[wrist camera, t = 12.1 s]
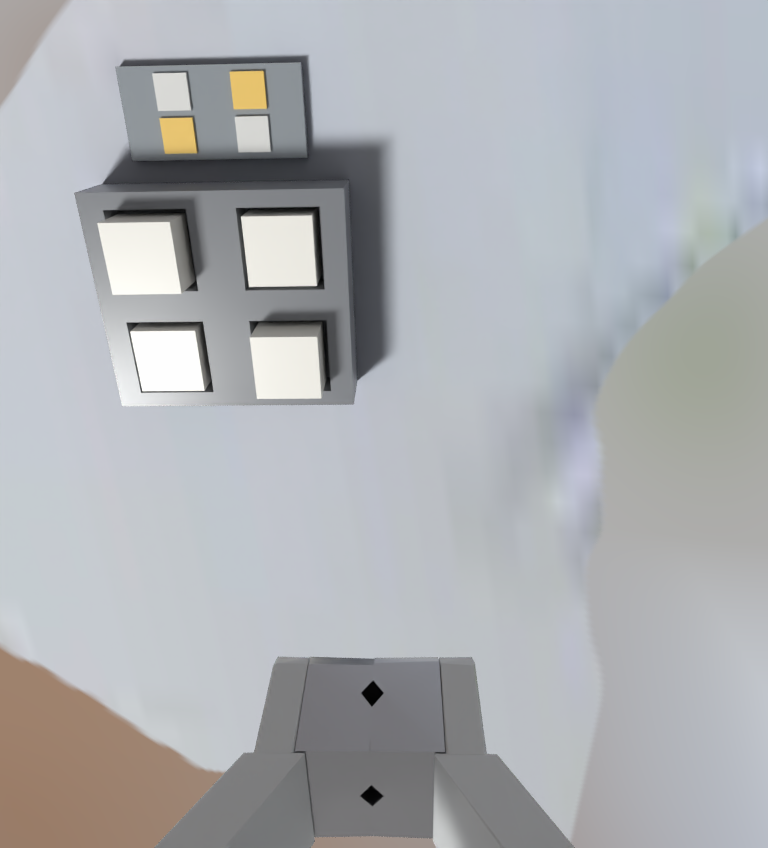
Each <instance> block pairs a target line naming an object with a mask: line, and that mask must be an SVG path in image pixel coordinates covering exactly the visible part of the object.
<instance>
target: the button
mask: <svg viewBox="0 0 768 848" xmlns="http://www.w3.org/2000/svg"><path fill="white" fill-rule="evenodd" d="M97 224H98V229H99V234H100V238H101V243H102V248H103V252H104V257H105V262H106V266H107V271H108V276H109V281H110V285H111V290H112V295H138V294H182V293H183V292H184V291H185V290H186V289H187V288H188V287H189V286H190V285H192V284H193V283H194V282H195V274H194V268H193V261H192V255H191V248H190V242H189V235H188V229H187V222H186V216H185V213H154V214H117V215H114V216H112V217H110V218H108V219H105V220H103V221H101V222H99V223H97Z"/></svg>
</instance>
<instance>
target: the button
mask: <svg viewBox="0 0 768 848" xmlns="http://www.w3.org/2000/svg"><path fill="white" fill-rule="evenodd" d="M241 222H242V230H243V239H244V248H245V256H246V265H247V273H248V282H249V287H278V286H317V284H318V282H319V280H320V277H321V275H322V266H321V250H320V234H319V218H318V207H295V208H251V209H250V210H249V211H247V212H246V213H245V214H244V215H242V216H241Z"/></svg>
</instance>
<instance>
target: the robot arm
mask: <svg viewBox="0 0 768 848" xmlns="http://www.w3.org/2000/svg"><path fill="white" fill-rule="evenodd" d="M347 836H348V837H349V836H386V837H410V838H433V843H434V844H435V846H436V848H574V846H573V845H572V844H571V843H570V841H569V840H568V839H567V838H566V837H565V835H564V834H563V833H562V832H561V831H560V829H559V828H558V827H557V826H556V825H555V823H554V822H553V821H552V820H551V819H550V817H549V816H548V815H547V814H546V813H545V811H544V810H543V809H542V808H541V807H540V805H539V804H538V803H537V802H536V801H535V799H534V798H533V797H532V796H531V795H530V793H529V792H528V791H527V790H526V789H525V787H524V786H523V785H522V784H521V783H520V781H519V780H518V779H517V778H516V777H515V775H514V774H513V773H512V772H511V771H510V769H509V768H508V767H507V766H506V765H505V763H504V762H503V761H502V760H501V759H500V757H499V756H498V755H497V754H487V753H486V745H485V738H484V730H483V722H482V715H481V707H480V699H479V692H478V684H477V676H476V669H475V662H474V661H473V659H472V657H458V658H439V659H438V657H420V658H375V659H365V658H330V657H278V658H277V659H276V661H275V663H274V665H273V669H272V674H271V678H270V683H269V687H268V692H267V696H266V701H265V705H264V710H263V714H262V719H261V723H260V728H259V732H258V737H257V741H256V746H255V750H254V752H253V753H243V754H242V755H241V756H240V757H239V758H238V760H237V761H236V762H235V763H234V764H233V765H232V766H231V767H230V768H229V769H228V770H227V771H226V772H225V773H224V774H223V776H221V778H220V779H219V780H218V781H217V782H216V783H215V784H214V785H213V786H212V787H211V788H210V789H209V790H208V791H207V792H206V793H205V795H204V796H203V797H202V798H201V799H200V800H199V801H198V802H197V803H196V804H195V805H194V806H193V807H192V808H191V809H190V810H189V811H188V813H187V814H186V815H185V816H184V817H183V818H182V819H181V820H180V821H179V822H178V823H177V824H176V825H175V827H173V829H172V830H171V831H170V832H169V833H168V834H167V835H166V836H165V837H164V838H163V839H162V840H161V841H160V842H159V843H158V845H156V846H155V847H154V848H311V846H312V845H313V843H314V842H315V840H314V837H347Z"/></svg>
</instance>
